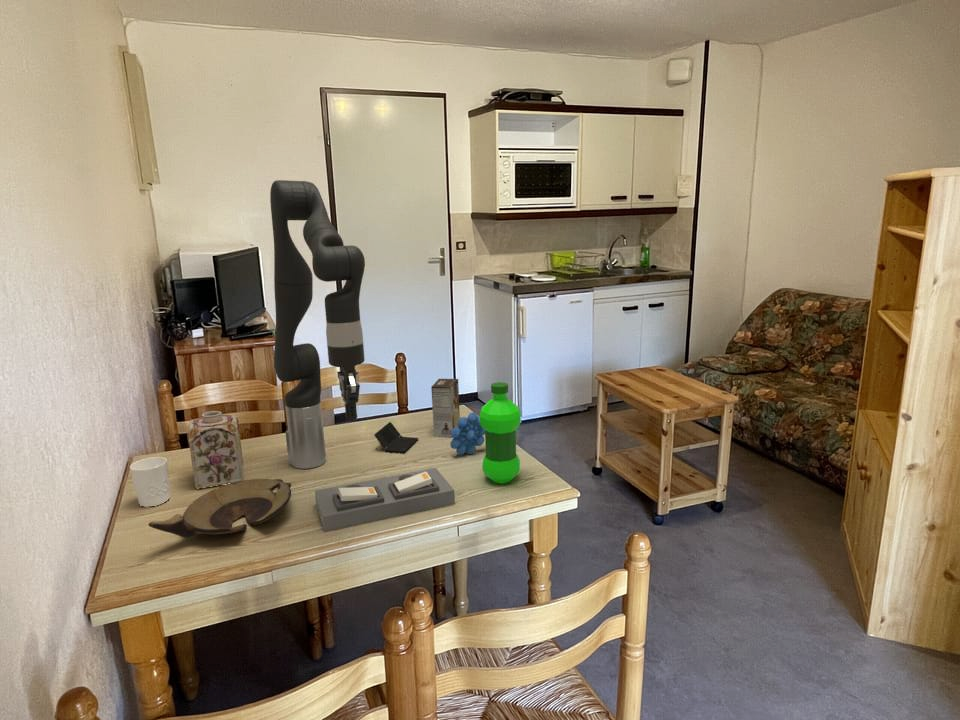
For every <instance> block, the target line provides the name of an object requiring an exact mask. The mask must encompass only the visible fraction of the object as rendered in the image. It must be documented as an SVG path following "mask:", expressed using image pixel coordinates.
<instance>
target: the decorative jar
mask: <svg viewBox="0 0 960 720" xmlns="http://www.w3.org/2000/svg"><path fill="white" fill-rule="evenodd" d="M187 426H188V441H187V442H188V443H189V451H190V459H191V466H192V467H191V468H192V473H193V478H194V479H193V480H194V484H195V485H194V486H195V489H196V488H203V487H210V486H216V485H223V484H228V483H235V482H239V481H244V480H245V479H244V477H245V476H244V460H243V459H244V458H243V451H242V450H243V449H242V441H241V435H240V428H239V426H240V425H239V419H238V417H237V416H236V415H234V414H233V415H232V414H226V413H222V412H221V411H219V410H211V411H206V412H204V413H202V414H201V417H198V418H195V419H194V420H191V421H189V423H188V425H187ZM223 486H224V485H223Z"/></svg>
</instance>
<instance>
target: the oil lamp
mask: <svg viewBox="0 0 960 720" xmlns="http://www.w3.org/2000/svg"><path fill="white" fill-rule="evenodd" d="M291 487H292V483H291V482H285V481H284V480H283V479H281V478H276V479H275V478H274V479H272V478H254V479H253V478H252V479H244V481H239V482H235V483H230V484H227V485H223V486H218V488H214V489H212V490H210V491H208V492H206V493H204V494H203V495H201V496H200V497H197V499H195V500H193V502H192V503H190V504H189V505H188V507H187V508H186V509H185V511H184V512H183V514H179V513H177V514H174V515H173V516H172V517H170V518H168V519H166V520H158V521H157V520H155V521H154V520H152V521H150V522H149V523H148V526H149V528H153V529H156V530H157V531H158V530H159V531H162V532H166V533H169V534H173V535H176V536H179V537H182V538H193V537H194V536H196V535H202V534H204V535H205V534H207V535H223V534H230V533H236V532H240V531H243V530H245V529H246V528H247V527H248V525H247V524H249V525H251V526H255V525H260V524H262V523H264V522H266V521H269V520H271V518H274V516H276V515H277V514H279V512H281V511H282V510H283V509H284V508H285V507H286V506H287V505H288V504H289V502H290V500H291V498H292V489H291ZM276 489H277V490H276ZM274 490H276V491H275V492H274ZM242 517H245V520H246V522H247V523H243V524H240V525H237V526H233V523H234V522H236V521H238V520H239V519H241V518H242ZM232 522H233V523H232Z"/></svg>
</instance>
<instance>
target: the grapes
mask: <svg viewBox="0 0 960 720" xmlns="http://www.w3.org/2000/svg"><path fill="white" fill-rule="evenodd" d="M457 424H458V427H455V428H453V429H452V431H451V436H452V437H451V438H452V439H451V441H450V448H451V449H453V450H455V451H456V453H457V455H458V456H463V455H464V454H465V453H466V454H468V455H471V454H474V452H475V451H476V449H477V447H480V446H482V445H483V444H484V442H485V437H484V436H485V430H484V429H483V428H482V427H481V424H480V415H477V413H476V412H471V413H469V414H468V415H467V417H466V416H460V419H459V420H458V423H457Z"/></svg>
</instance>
